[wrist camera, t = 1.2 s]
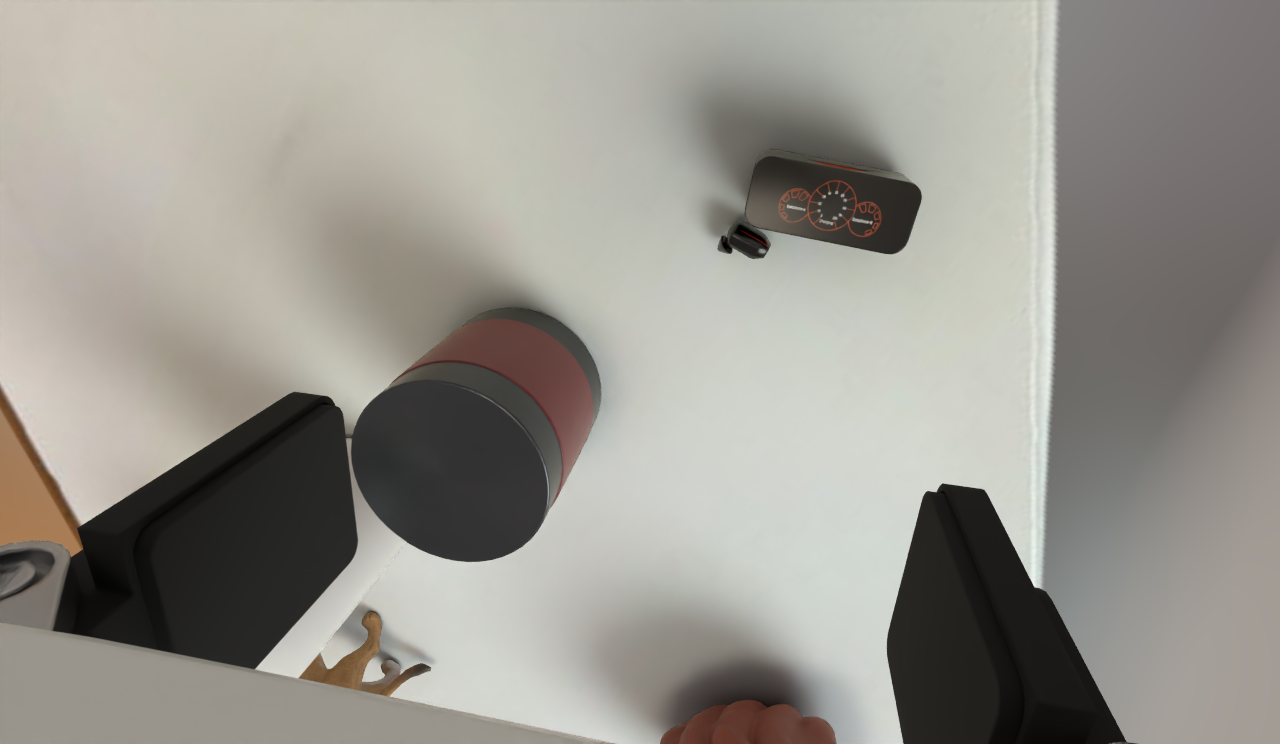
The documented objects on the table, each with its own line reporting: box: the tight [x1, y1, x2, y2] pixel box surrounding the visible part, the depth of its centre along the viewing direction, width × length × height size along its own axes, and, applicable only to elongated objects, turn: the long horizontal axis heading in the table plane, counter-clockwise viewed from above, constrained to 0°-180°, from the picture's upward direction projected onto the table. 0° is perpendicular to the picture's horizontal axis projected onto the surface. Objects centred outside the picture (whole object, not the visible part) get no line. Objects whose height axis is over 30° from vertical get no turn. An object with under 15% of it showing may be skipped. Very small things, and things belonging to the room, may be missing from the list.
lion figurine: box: [299, 612, 431, 697], centre depth 41 cm, size 15×5×9 cm, turn 68°
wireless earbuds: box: [718, 149, 922, 259], centre depth 29 cm, size 5×7×3 cm, turn 81°
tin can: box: [351, 308, 601, 562], centre depth 32 cm, size 8×8×9 cm
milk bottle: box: [255, 438, 406, 678], centre depth 32 cm, size 8×8×20 cm
